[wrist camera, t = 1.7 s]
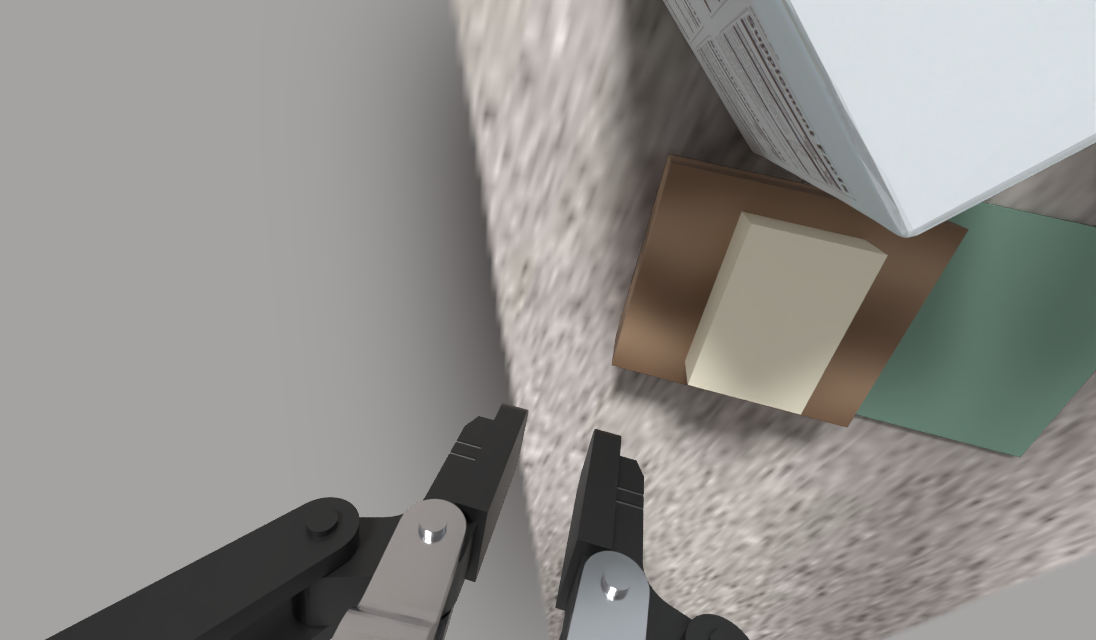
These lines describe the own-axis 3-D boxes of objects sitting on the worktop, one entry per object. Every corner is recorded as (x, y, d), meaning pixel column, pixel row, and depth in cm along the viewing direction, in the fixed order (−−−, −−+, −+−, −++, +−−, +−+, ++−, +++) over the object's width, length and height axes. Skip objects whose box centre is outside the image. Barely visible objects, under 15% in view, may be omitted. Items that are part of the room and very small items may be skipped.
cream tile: (741, 211, 24) (751, 223, 21) (865, 239, 23) (887, 255, 21) (684, 361, 28) (687, 384, 25) (788, 388, 27) (800, 414, 25)
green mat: (944, 194, 25) (949, 195, 25) (1191, 247, 24) (1199, 250, 24) (825, 403, 31) (827, 407, 31) (1015, 453, 30) (1020, 457, 30)
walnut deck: (668, 153, 27) (671, 163, 23) (924, 210, 26) (968, 229, 22) (616, 335, 32) (611, 365, 29) (824, 389, 31) (847, 427, 27)
